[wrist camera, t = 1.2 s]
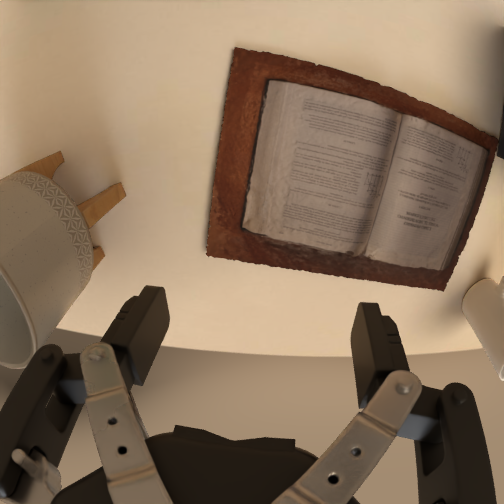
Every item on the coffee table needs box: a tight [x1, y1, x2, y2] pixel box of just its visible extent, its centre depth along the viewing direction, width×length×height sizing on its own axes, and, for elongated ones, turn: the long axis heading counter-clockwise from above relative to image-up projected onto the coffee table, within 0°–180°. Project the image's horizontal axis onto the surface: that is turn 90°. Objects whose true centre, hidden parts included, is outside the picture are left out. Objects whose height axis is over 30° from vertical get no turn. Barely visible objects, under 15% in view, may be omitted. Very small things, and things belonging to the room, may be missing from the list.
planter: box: [0, 151, 126, 369], centre depth 24 cm, size 13×13×18 cm
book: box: [206, 47, 499, 292], centre depth 27 cm, size 20×28×4 cm
